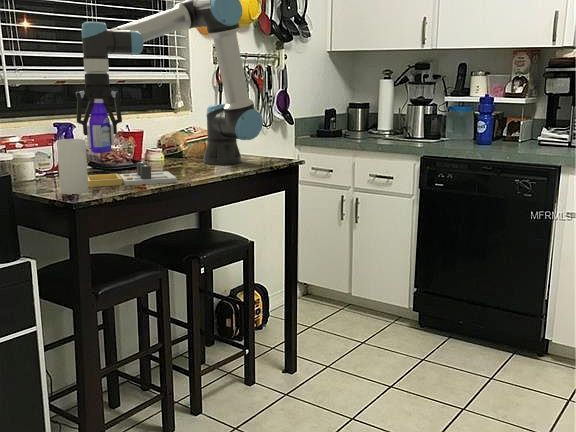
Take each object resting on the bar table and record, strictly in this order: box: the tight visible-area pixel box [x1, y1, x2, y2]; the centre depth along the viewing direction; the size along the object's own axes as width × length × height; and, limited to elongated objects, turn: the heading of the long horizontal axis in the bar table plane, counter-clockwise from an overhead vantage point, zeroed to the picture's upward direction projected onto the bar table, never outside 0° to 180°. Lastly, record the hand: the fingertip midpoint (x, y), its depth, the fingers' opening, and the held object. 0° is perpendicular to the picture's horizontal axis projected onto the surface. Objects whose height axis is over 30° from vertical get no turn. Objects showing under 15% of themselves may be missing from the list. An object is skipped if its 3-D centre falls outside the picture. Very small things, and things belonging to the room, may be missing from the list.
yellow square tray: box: [88, 173, 123, 188], centre depth 207 cm, size 11×11×2 cm
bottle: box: [88, 99, 112, 154], centre depth 203 cm, size 7×6×17 cm
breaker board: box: [118, 171, 178, 187], centre depth 213 cm, size 17×14×2 cm
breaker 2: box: [140, 164, 152, 179], centre depth 208 cm, size 3×3×4 cm
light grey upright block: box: [56, 138, 90, 196], centre depth 191 cm, size 8×8×16 cm
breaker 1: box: [136, 161, 148, 175], centre depth 214 cm, size 3×3×4 cm
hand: (100, 144), depth 204 cm, fingers closed on bottle, 7 cm apart
